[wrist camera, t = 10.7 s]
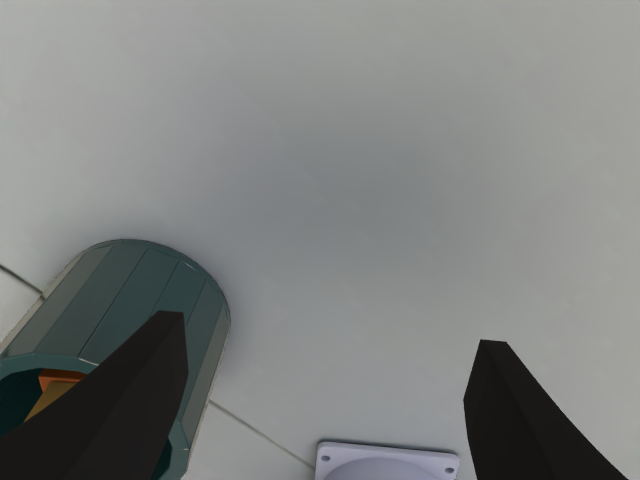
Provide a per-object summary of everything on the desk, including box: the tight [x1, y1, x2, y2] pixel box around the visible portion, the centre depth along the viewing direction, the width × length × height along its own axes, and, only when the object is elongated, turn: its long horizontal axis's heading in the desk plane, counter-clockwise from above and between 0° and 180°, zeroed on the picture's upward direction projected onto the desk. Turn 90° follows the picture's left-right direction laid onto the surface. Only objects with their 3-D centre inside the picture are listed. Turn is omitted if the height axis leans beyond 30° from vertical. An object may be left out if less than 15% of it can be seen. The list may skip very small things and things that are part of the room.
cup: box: [0, 239, 230, 480], centre depth 23 cm, size 8×8×8 cm
